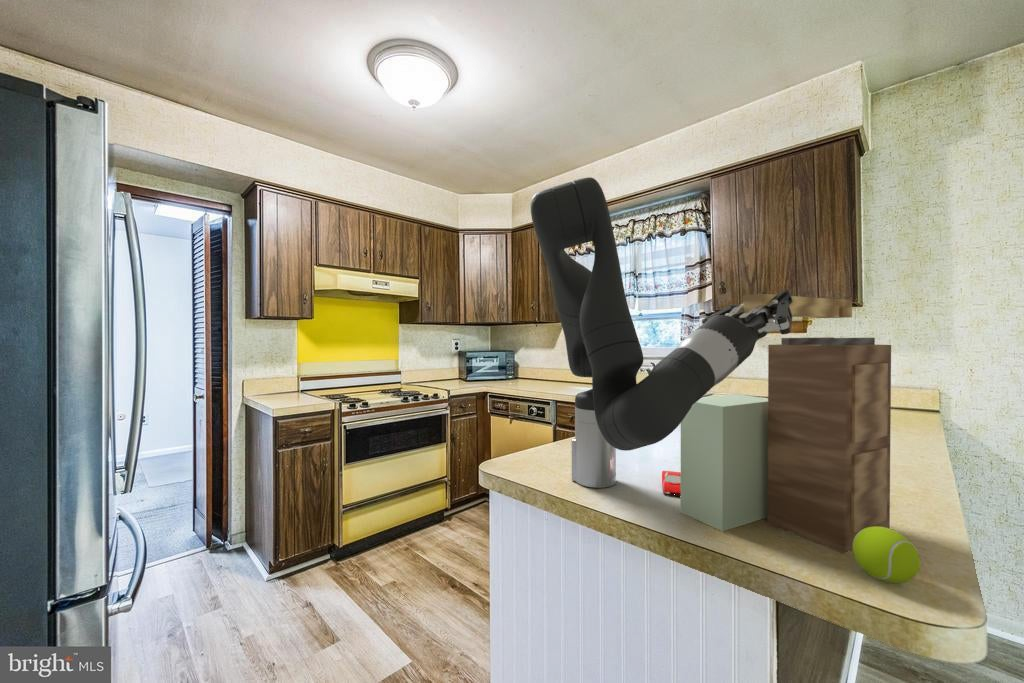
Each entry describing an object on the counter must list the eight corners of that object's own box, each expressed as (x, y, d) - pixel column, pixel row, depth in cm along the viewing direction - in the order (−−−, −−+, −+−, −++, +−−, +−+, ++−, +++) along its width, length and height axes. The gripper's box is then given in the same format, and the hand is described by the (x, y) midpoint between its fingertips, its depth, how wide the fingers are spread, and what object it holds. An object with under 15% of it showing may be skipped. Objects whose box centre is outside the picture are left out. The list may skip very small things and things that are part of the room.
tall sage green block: (722, 531, 74) (722, 406, 73) (680, 512, 82) (680, 399, 81) (779, 513, 81) (780, 399, 80) (736, 497, 89) (736, 394, 88)
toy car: (688, 500, 88) (688, 485, 88) (661, 497, 90) (661, 482, 90) (685, 481, 100) (685, 468, 100) (661, 479, 101) (661, 465, 101)
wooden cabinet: (846, 554, 66) (848, 338, 65) (767, 523, 77) (768, 337, 76) (892, 535, 72) (894, 337, 71) (813, 508, 83) (814, 337, 82)
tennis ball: (933, 590, 56) (934, 538, 56) (891, 597, 55) (892, 543, 55) (878, 563, 63) (878, 516, 63) (839, 568, 62) (840, 520, 62)
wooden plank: (765, 313, 63) (765, 293, 63) (740, 315, 66) (740, 295, 66) (851, 317, 74) (852, 299, 74) (826, 318, 77) (826, 301, 77)
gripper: (749, 328, 53) (818, 268, 60) (663, 330, 66) (728, 280, 73) (767, 379, 55) (832, 315, 62) (680, 371, 68) (742, 318, 74)
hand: (775, 296), depth 67 cm, fingers closed on wooden plank, 3 cm apart
